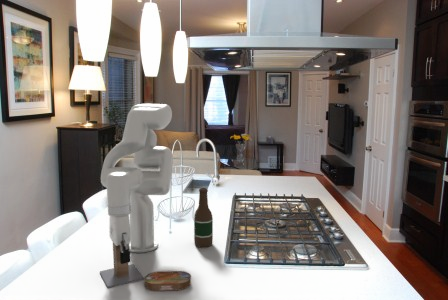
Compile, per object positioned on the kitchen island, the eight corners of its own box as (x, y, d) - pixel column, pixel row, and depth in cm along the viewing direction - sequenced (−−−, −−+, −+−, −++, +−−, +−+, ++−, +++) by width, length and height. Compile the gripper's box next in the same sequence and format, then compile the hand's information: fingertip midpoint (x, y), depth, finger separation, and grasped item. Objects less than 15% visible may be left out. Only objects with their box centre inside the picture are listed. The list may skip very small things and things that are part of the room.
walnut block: (114, 273, 126) (112, 242, 124) (125, 270, 128) (124, 240, 126) (117, 278, 122) (115, 246, 121) (128, 275, 124) (127, 244, 123)
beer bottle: (192, 247, 150) (191, 190, 146) (196, 240, 157) (196, 186, 154) (210, 248, 148) (211, 191, 145) (214, 241, 156) (214, 186, 153)
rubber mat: (99, 272, 127) (99, 271, 127) (133, 265, 133) (133, 263, 133) (107, 288, 117) (107, 286, 117) (144, 279, 123) (144, 277, 123)
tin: (191, 270, 123) (190, 281, 115) (191, 279, 124) (190, 290, 115) (146, 271, 123) (142, 281, 114) (146, 280, 123) (142, 291, 115)
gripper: (102, 203, 127) (104, 250, 130) (114, 218, 113) (116, 270, 115) (123, 200, 131) (125, 245, 134) (138, 214, 116) (140, 264, 119)
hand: (121, 257), depth 125 cm, fingers open, 9 cm apart
